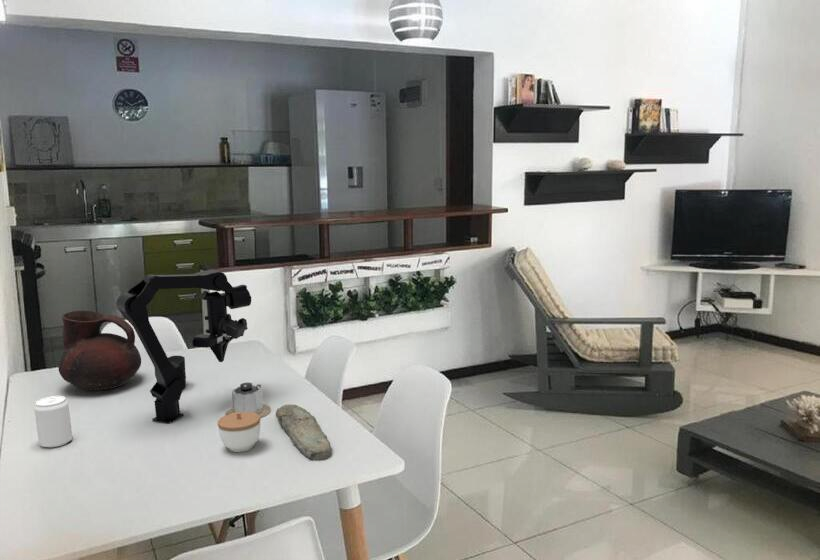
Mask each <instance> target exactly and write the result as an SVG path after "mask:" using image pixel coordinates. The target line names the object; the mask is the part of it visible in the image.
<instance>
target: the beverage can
mask: <svg viewBox="0 0 820 560" xmlns="http://www.w3.org/2000/svg"><path fill="white" fill-rule="evenodd" d="M33 411H34V416H35V418H34V419H35V425H36V432H37V438H38V439H37V440H38V445H39V446H40V447H43V448H57V447H61V446H64V445H66V444H68V443H69V442H71V441H72V439H73V430H72V422H71V412H70V406H69V402H68V400H67V399H66V397H65V396H63V395H52V396H46V397H42V398H40V399H37V401H36V402H35V405H34V408H33Z"/></svg>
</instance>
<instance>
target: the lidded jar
mask: <svg viewBox="0 0 820 560" xmlns="http://www.w3.org/2000/svg"><path fill="white" fill-rule="evenodd" d="M217 426H218V433H219V438H220V441H221V442H222V444H223V445H224V446H225V447H226V448H228V449H229V451H230V452H234V453H241V452H242V453H243V452H246V451H250V450H251V449H253V447H254V445H255V444H256V443H257V441H258V440H259V437H260V435H261V434H260V433H261V418H260V416H259V415H258V414H257V413H254V412H235V413H231V414H227V415H225V414H224V415H223V416H221V417H220V418H219V419H218V420H217Z"/></svg>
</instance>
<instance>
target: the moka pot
mask: <svg viewBox="0 0 820 560" xmlns="http://www.w3.org/2000/svg"><path fill="white" fill-rule="evenodd" d="M262 395H263V394H262V385H261V384H260V383H258V384H256V385H253V384H252V390H251V391H248V394H245V392H243V391H241V389H240V386H237V387H235V388H234V389H232V390H231V398H232V407H231V408H229V409H227V410H226V412H225V413H224V416H225V415H227V414H231V413H235V412H254V413H257V414H258V415H259V416H260V419H262V418H265V417H266V416H267V415H269V414H270V413H271V407H270V406H269V405H267V404H264V403H263V396H262Z"/></svg>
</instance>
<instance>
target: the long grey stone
mask: <svg viewBox="0 0 820 560" xmlns="http://www.w3.org/2000/svg"><path fill="white" fill-rule="evenodd" d="M275 417H276V418H277V421H278V423H279V424H280V426H281V429H283V431H285V432H286V434H287V435H288V436H289V438H290V440H291V442H292V443H293V444H294V445H295V446H296V447H297V448H298V450H299V451H300V452H301V454H303V456H304V457H305V458H306V457H307V458H308V459H310V460H312V461H321V460H322V461H323V460H326V459H328V458H330V456H331V454H332V447H331V443H330V441H329V439H328V436H327V435H326V433H324V431H323V430H322V428H321V425H320V424H318V422H317V418H316V417H315V416H314V415H312V414H311V412H309V411H308V410H307V409H305V408H303V407H301V406H299V405H297V404H290V403H289V404H283V405H281V406H279V408H276V411H275Z"/></svg>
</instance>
